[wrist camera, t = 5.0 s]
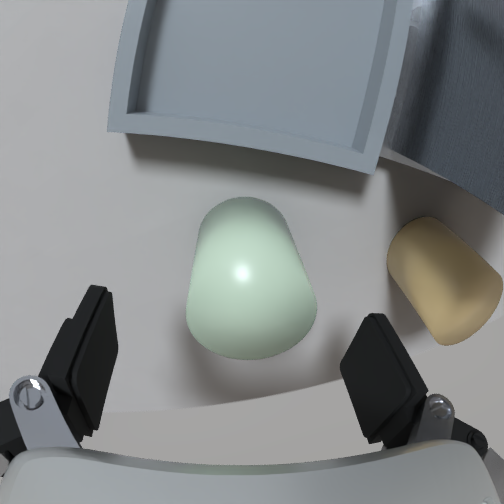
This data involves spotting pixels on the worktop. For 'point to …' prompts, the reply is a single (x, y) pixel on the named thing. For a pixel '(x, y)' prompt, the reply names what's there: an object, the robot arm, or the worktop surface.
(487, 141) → the panel
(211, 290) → the mint green rounded cylinder
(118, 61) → the tray
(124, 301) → the worktop surface
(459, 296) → the tan rounded capsule
